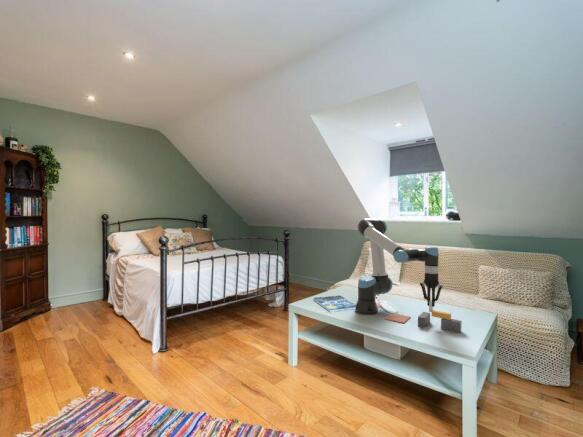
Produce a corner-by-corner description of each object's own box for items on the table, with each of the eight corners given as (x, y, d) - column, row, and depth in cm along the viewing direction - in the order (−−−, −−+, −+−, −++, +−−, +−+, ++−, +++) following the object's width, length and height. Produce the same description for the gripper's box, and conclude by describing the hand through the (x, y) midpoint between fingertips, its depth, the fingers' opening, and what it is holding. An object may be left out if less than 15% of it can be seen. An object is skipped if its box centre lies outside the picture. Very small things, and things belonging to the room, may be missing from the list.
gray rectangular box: (441, 329, 180) (441, 318, 180) (442, 327, 183) (442, 317, 183) (460, 333, 174) (460, 322, 174) (461, 331, 177) (461, 320, 177)
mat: (384, 319, 196) (384, 318, 196) (392, 313, 207) (392, 312, 207) (403, 323, 188) (403, 322, 188) (410, 317, 199) (410, 316, 199)
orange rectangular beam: (431, 316, 184) (431, 311, 184) (432, 314, 186) (432, 310, 186) (450, 319, 177) (450, 314, 177) (451, 318, 180) (451, 313, 180)
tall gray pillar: (417, 326, 184) (418, 316, 184) (423, 321, 194) (423, 311, 194) (424, 328, 182) (425, 318, 182) (430, 322, 191) (430, 313, 191)
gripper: (418, 272, 186) (417, 310, 186) (441, 274, 178) (441, 315, 178) (421, 270, 192) (421, 308, 192) (444, 273, 184) (444, 312, 184)
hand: (430, 311), depth 185 cm, fingers closed
